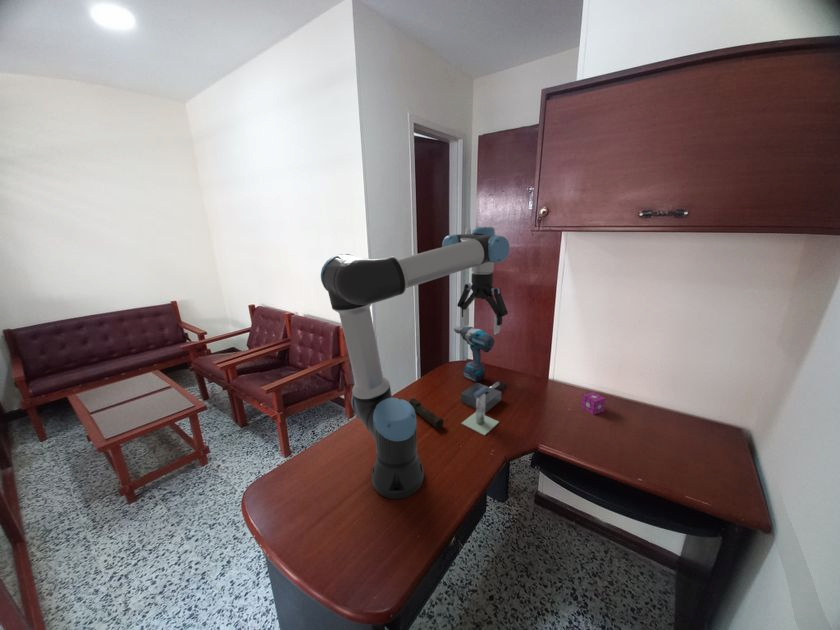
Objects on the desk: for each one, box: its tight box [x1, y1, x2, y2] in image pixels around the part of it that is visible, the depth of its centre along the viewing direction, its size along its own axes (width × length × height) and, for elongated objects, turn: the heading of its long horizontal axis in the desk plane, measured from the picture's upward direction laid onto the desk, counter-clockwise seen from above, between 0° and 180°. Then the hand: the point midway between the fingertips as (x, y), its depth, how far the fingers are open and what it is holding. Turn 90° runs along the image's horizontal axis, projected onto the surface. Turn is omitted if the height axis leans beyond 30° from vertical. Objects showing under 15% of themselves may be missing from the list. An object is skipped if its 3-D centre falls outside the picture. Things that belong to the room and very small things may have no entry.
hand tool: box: [408, 398, 445, 431], centre depth 119 cm, size 19×4×5 cm, turn 35°
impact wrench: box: [453, 325, 495, 383], centre depth 146 cm, size 8×23×25 cm, turn 40°
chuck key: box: [474, 384, 489, 425], centre depth 113 cm, size 7×3×14 cm, turn 137°
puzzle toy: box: [580, 391, 606, 416], centre depth 121 cm, size 6×6×6 cm
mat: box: [460, 411, 500, 436], centre depth 115 cm, size 10×10×1 cm
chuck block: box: [460, 381, 502, 414], centre depth 131 cm, size 20×12×4 cm, turn 137°
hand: (480, 329), depth 115 cm, fingers open, 13 cm apart
